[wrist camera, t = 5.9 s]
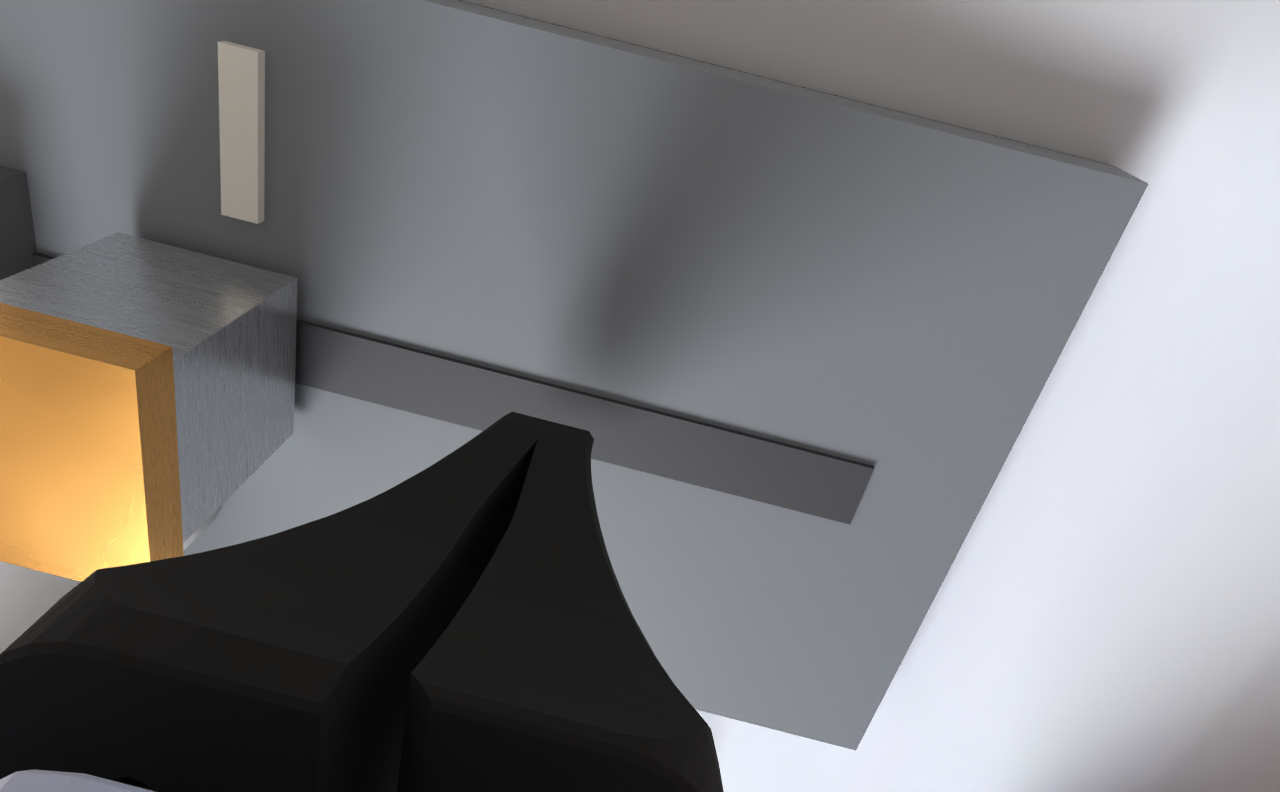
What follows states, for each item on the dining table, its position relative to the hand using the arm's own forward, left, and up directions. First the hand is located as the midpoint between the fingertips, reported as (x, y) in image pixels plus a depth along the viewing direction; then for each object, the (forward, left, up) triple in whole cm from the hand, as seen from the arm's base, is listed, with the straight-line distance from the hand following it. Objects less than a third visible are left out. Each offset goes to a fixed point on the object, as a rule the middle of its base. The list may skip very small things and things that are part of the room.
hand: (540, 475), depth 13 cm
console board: (+2, 0, -3) cm, 3 cm away
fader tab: (+6, 0, -1) cm, 6 cm away
